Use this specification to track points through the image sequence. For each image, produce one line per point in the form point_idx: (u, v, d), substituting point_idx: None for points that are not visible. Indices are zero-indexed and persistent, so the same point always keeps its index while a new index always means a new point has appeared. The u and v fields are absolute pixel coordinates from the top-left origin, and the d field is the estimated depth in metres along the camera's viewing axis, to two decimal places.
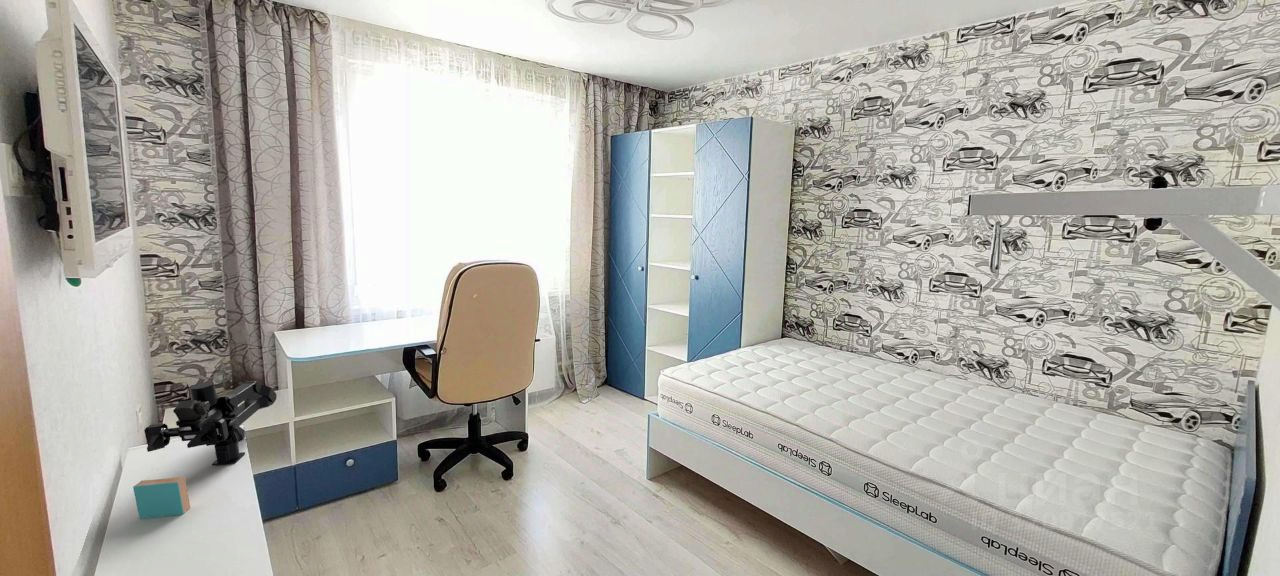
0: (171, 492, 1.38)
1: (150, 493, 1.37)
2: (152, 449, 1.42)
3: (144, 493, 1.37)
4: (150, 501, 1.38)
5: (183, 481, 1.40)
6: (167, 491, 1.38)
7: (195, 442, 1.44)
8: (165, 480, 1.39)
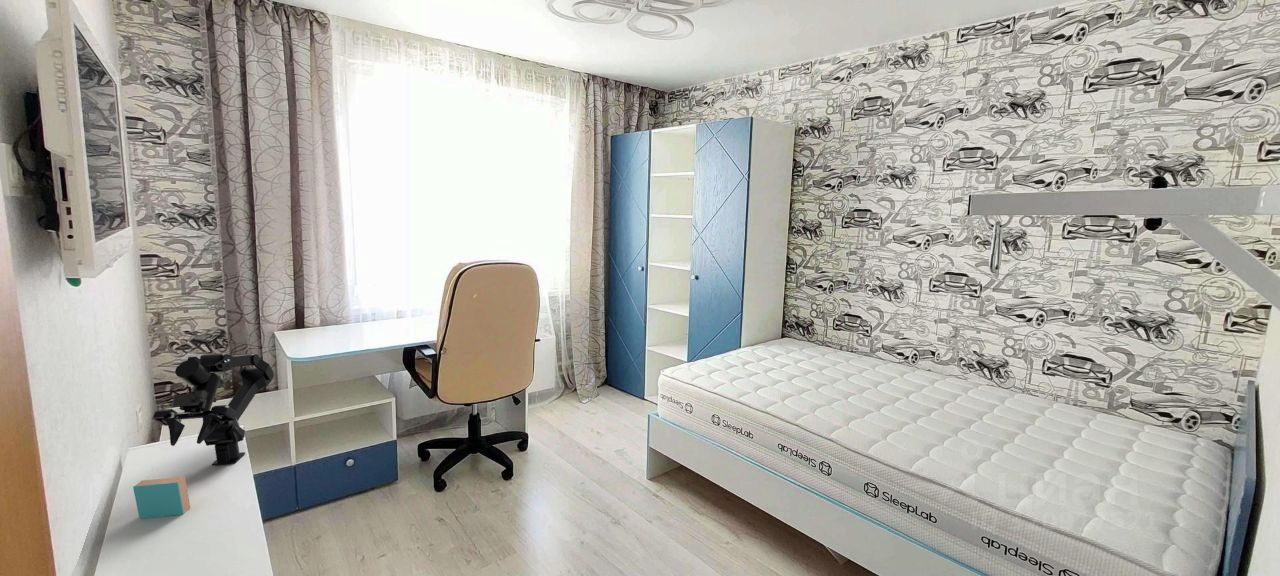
0: (171, 492, 1.38)
1: (150, 493, 1.37)
2: (176, 441, 1.50)
3: (144, 493, 1.37)
4: (150, 501, 1.38)
5: (183, 481, 1.40)
6: (167, 491, 1.38)
7: (203, 436, 1.51)
8: (165, 480, 1.39)
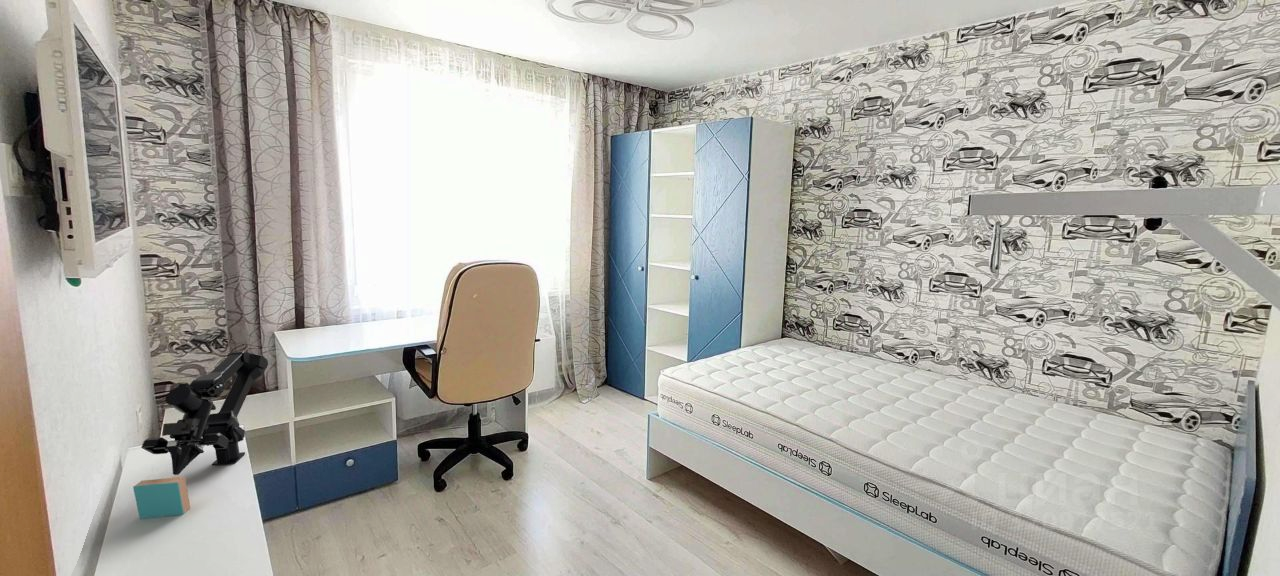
0: (171, 492, 1.38)
1: (150, 493, 1.37)
2: None
3: (144, 493, 1.37)
4: (150, 501, 1.38)
5: (183, 481, 1.40)
6: (167, 491, 1.38)
7: (182, 467, 1.46)
8: (165, 480, 1.39)
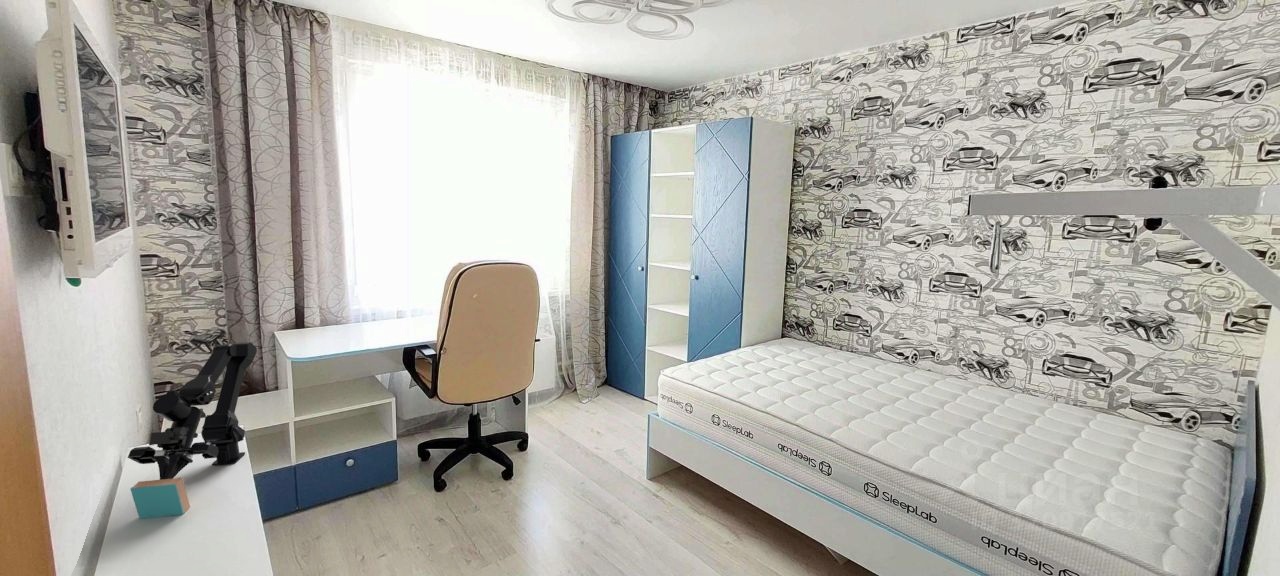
0: (169, 493, 1.38)
1: (148, 495, 1.37)
2: None
3: (142, 495, 1.36)
4: (149, 502, 1.37)
5: (181, 482, 1.39)
6: (165, 493, 1.37)
7: (169, 477, 1.41)
8: (162, 481, 1.38)
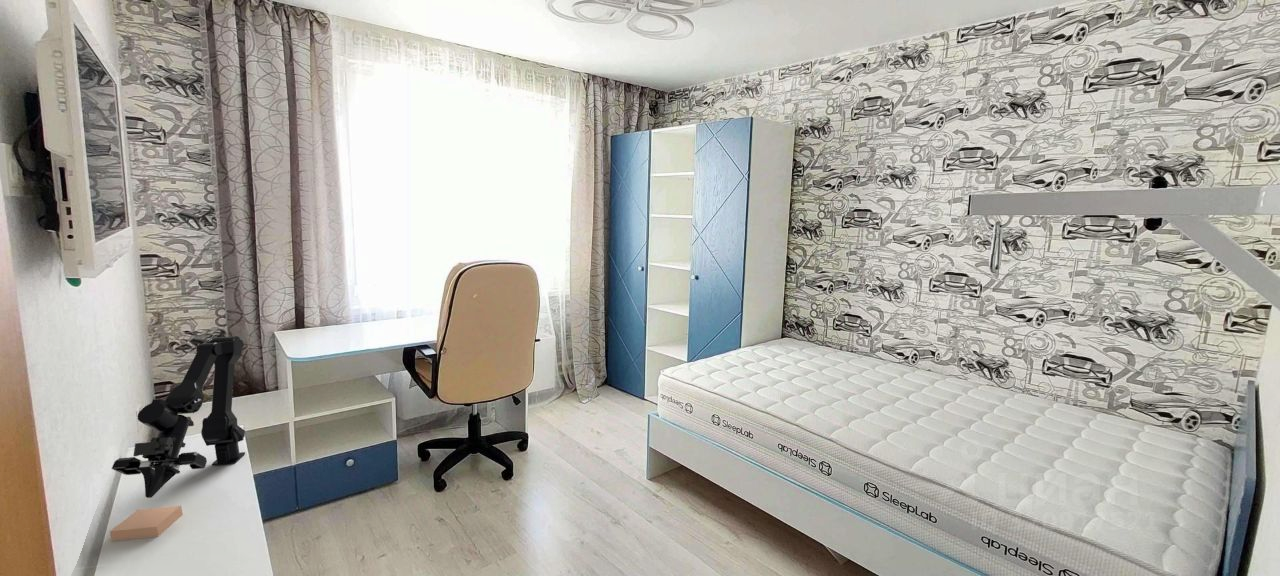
0: None
1: None
2: None
3: None
4: None
5: (159, 527, 1.31)
6: None
7: (155, 489, 1.36)
8: (139, 532, 1.30)
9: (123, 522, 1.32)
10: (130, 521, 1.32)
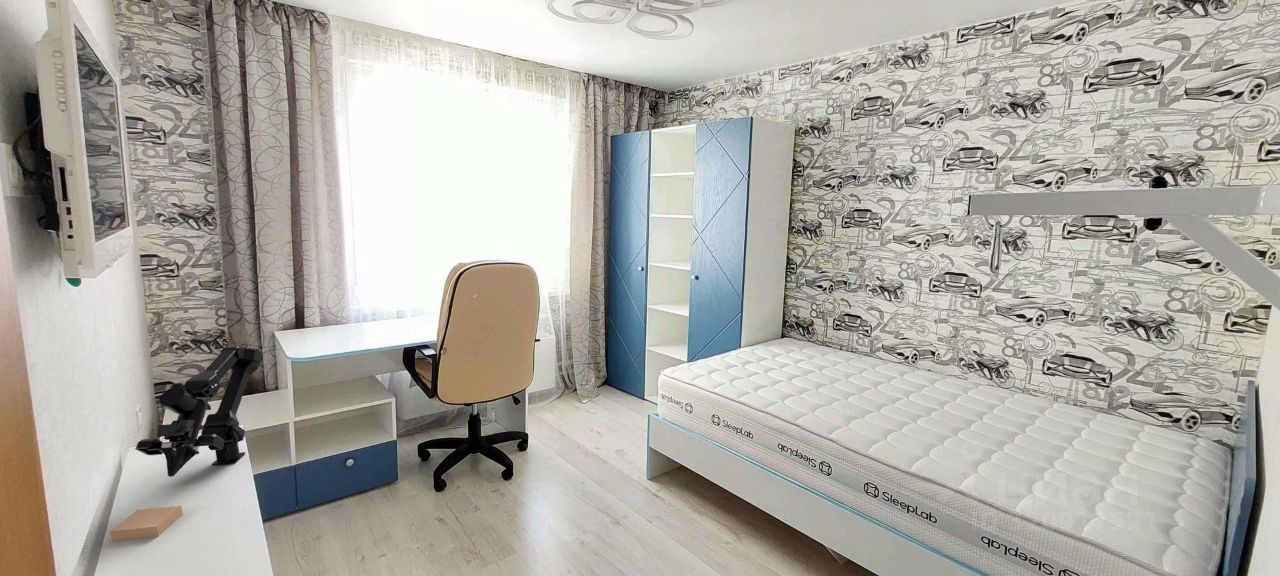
0: None
1: None
2: None
3: None
4: None
5: (160, 527, 1.31)
6: None
7: (177, 468, 1.44)
8: (139, 532, 1.30)
9: (123, 522, 1.32)
10: (131, 521, 1.32)
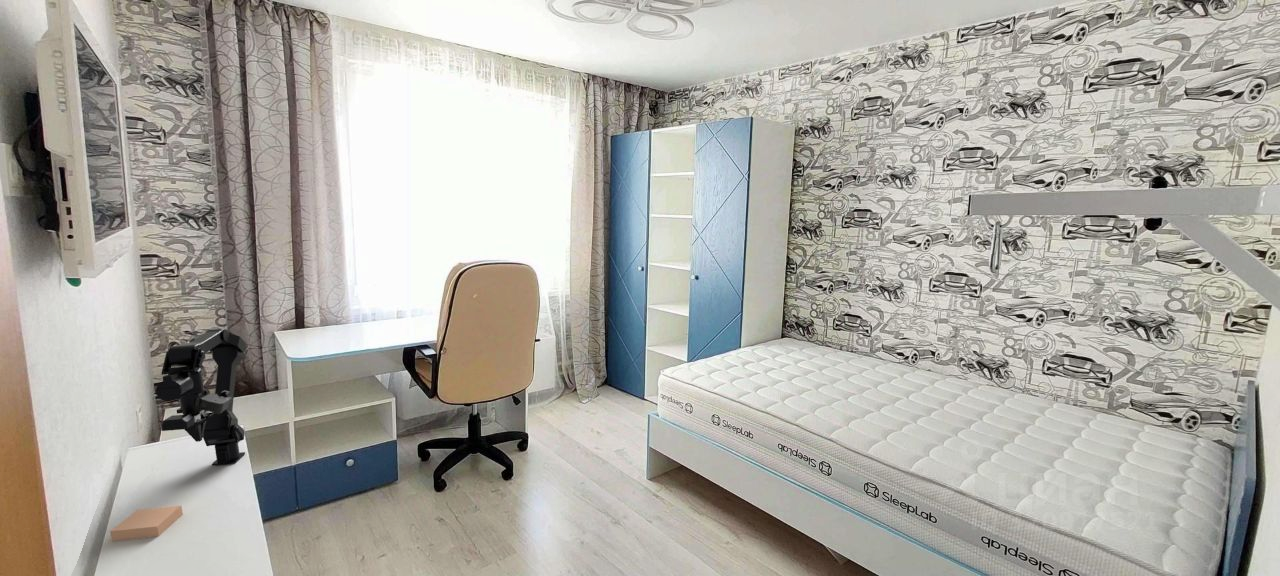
0: None
1: None
2: None
3: None
4: None
5: (160, 526, 1.31)
6: None
7: None
8: (140, 532, 1.30)
9: (123, 522, 1.32)
10: (131, 521, 1.32)
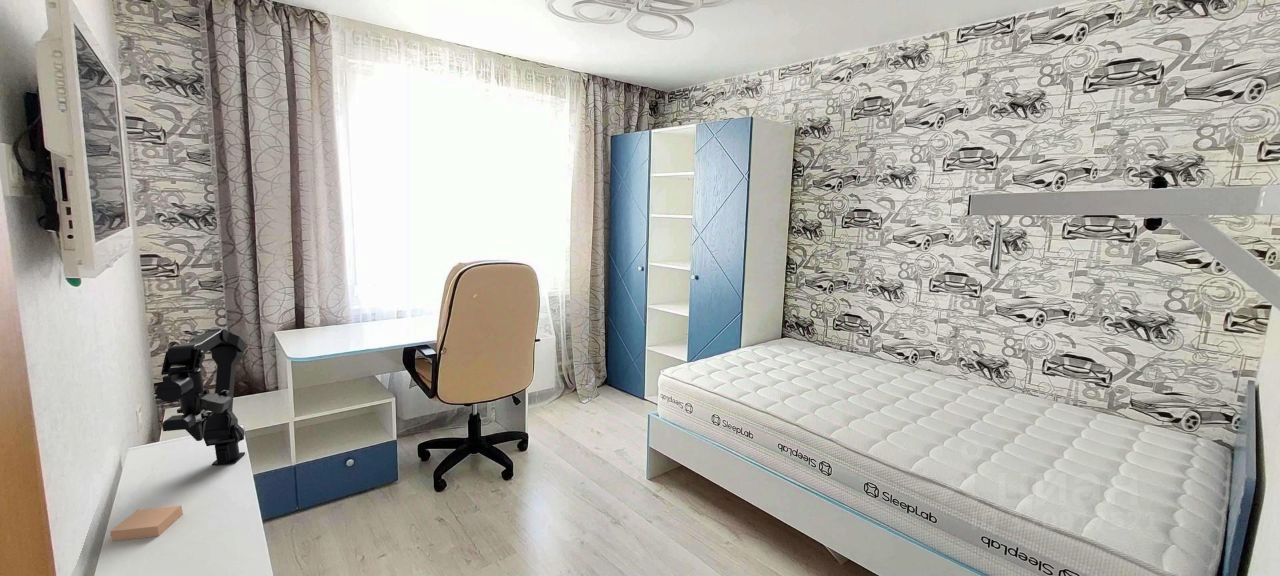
0: None
1: None
2: None
3: None
4: None
5: (160, 526, 1.31)
6: None
7: None
8: (140, 532, 1.30)
9: (123, 522, 1.32)
10: (131, 521, 1.32)
